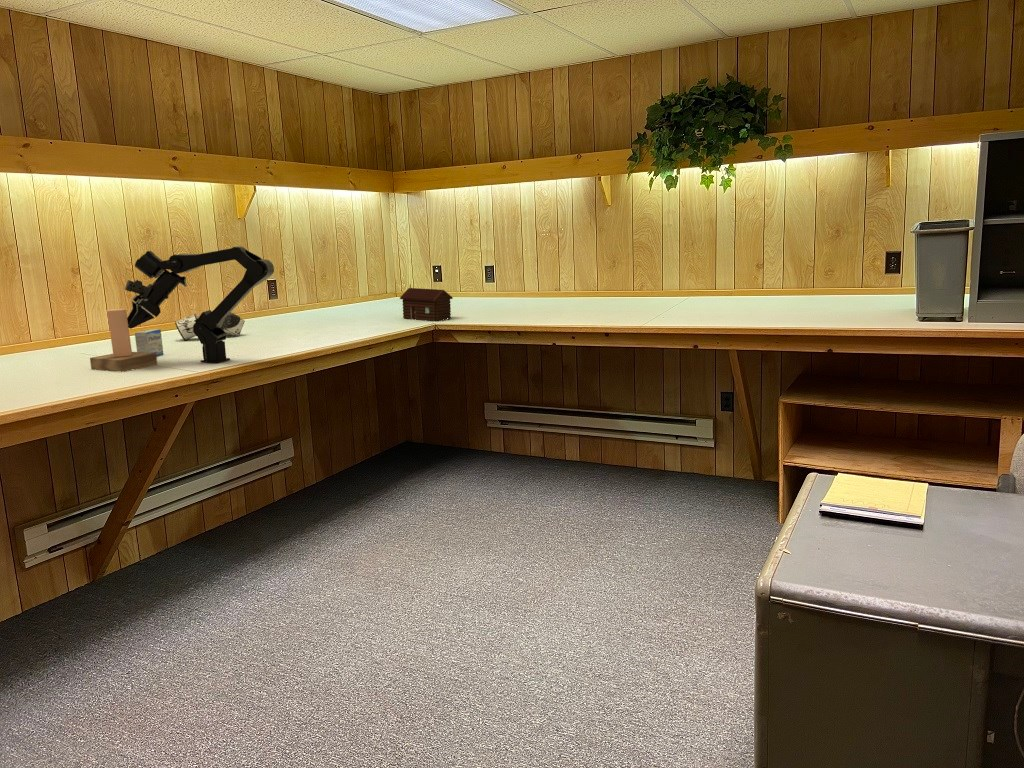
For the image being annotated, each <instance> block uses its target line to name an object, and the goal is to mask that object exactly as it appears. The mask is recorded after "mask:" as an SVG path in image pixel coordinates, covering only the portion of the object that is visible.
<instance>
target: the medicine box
mask: <svg viewBox="0 0 1024 768" xmlns="http://www.w3.org/2000/svg"><path fill="white" fill-rule="evenodd" d="M134 339H135V347H136V352H144V353H156V357H159V356H162V355H164V346H163V338H162V329H160V328H151V329H146V330H142V331H137V332H134Z"/></svg>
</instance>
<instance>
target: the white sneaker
mask: <svg viewBox="0 0 1024 768" xmlns="http://www.w3.org/2000/svg"><path fill="white" fill-rule="evenodd" d="M198 318H199V316H198V315H197V313H194V314H191V315H188V316H187V317H184V318H181V319H179V320H177V321H175V322H174V324H175V326H176V329H177V331H178V333H179V335H180V337H181V338H182V340H183V341H184V342H186V341H188V340H190V339H193V338H194V337H197V336H196V335H195V334H194V331H193V325H194V324H195V323H196V322H194V320H197V319H198ZM244 325H245V320H244V319H242V317H240V316H239V315H237V314H235V313H233V312H232V311H231V312H230V313H229V314H228V315H227V316H226V318H225V320H224V322H223V325H222V326H221V329H223V330H224V331H225V332H226V333H227V336H228V335H229V336H230V337H240V334H241V332H242V329H243V327H244ZM229 336H228V337H229Z"/></svg>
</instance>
